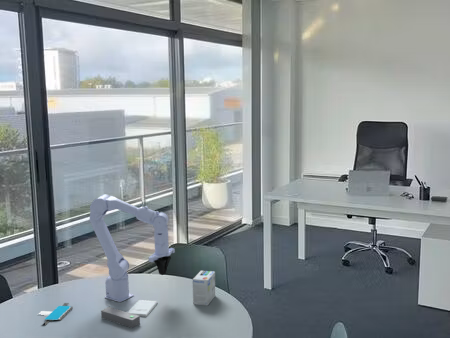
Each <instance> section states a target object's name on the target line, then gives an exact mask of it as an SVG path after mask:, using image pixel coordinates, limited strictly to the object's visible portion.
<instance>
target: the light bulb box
mask: <svg viewBox="0 0 450 338" xmlns="http://www.w3.org/2000/svg"><path fill="white" fill-rule="evenodd" d="M215 296H216V271H214V270H213V271H212V270H209V271H208V270H199V272H198V273H197V274H196V275H195V276H194V277H193V278H192V303H193V305H200V306H209V304H211V302H212V301H213V299H214V298H215Z"/></svg>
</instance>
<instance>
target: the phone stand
mask: <svg viewBox="0 0 450 338" xmlns="http://www.w3.org/2000/svg"><path fill="white" fill-rule="evenodd" d="M68 304H69V302H65V303H64V304H62V305H57V307H55V309H53V310H52V311H46V310H41V311H40V312H39V313H38V314H41V315H44V316H43V317H45V318H44V320H45V321H46V322H45V321H44V322H45V326H46V325H47V324H49V323H50V322H54V320H58V321H62V319H64V317H66V316H67V315H68V314H69V313H70V312H71V311H72V310H71V309H73V306H71V305H68ZM70 310H71V311H70ZM69 311H70V312H69ZM68 312H69V313H68ZM67 313H68V314H67ZM66 314H67V315H66ZM65 315H66V316H65Z"/></svg>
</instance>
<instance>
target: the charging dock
mask: <svg viewBox="0 0 450 338" xmlns="http://www.w3.org/2000/svg"><path fill="white" fill-rule="evenodd" d="M100 314H101V316H100V317H101V319H104V320H107V321H109V322H113V323H116V324H118V325H121V326H122V325H123V326H126V327H128V328H131V329H133V328H135V327H137V326H139V325H140V324H141V316H138V315H135V314H131V313H128V311H125V310H120V309H117V308H114V307H112V306H108V307H106V308H104V309H101V310H100Z"/></svg>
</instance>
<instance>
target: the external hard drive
mask: <svg viewBox="0 0 450 338" xmlns="http://www.w3.org/2000/svg"><path fill="white" fill-rule="evenodd" d="M157 305H158V300H148V299H147V300H145V299H144V300H143V299H138V300H137V301H136V303H134V305H132V307H131V308H130V309H129V310H128V311H127V312H128V313H131V314H135V315H138V316H140V317H144V318H145V317H147V318H148V316H149V315H150V314H151V312H152V311H153V310H154V308H156V306H157Z"/></svg>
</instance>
